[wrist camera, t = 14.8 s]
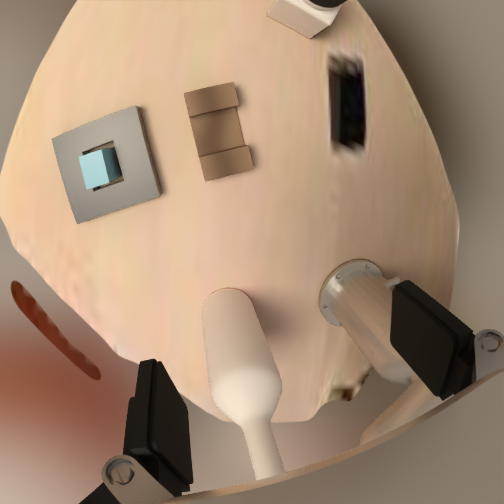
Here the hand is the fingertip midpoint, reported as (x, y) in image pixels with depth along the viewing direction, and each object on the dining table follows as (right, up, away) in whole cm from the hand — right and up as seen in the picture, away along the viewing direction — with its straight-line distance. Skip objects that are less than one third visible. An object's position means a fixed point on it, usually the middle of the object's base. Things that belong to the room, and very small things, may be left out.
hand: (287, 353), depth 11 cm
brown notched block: (-6, +19, +26) cm, 33 cm away
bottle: (-5, -5, +36) cm, 37 cm away
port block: (-20, +15, +25) cm, 35 cm away
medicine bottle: (+5, +38, +22) cm, 44 cm away
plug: (-20, +15, +25) cm, 36 cm away
